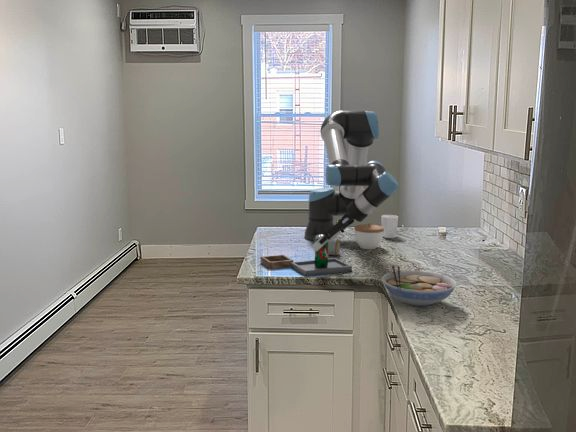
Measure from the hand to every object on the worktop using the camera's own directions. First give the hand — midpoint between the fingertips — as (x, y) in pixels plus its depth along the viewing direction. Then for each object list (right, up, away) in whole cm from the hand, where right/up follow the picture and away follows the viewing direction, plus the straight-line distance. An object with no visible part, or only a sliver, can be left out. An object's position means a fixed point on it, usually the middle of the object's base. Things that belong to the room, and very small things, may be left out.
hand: (320, 244), depth 218 cm
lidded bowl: (+23, -3, +39) cm, 46 cm away
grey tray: (0, -9, +2) cm, 10 cm away
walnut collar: (-17, -8, +8) cm, 20 cm away
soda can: (0, -9, +2) cm, 9 cm away
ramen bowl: (+28, -17, -35) cm, 48 cm away
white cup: (+36, 0, +62) cm, 72 cm away
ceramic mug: (+5, -5, +27) cm, 28 cm away
